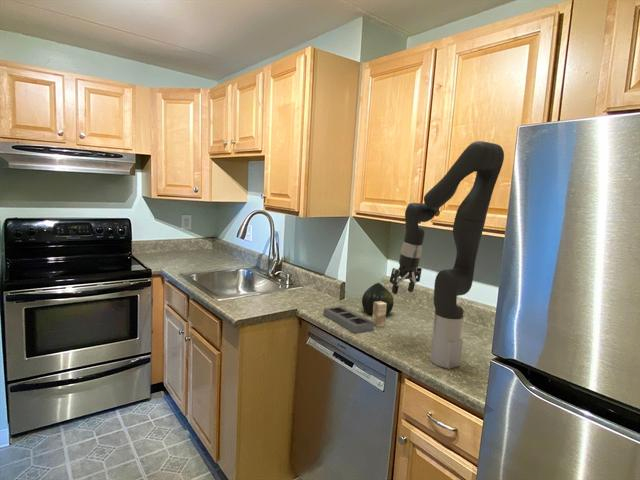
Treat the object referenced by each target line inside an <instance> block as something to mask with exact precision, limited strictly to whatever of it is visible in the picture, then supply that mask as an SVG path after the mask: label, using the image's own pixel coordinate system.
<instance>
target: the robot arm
mask: <svg viewBox="0 0 640 480" xmlns="http://www.w3.org/2000/svg"><path fill="white" fill-rule="evenodd" d="M504 159H505V153H504V149H503V147H502V146H501V145H500V144H497V143H493V142H488V141H482V140H480V141H478V140H477V141H473V142H471V143H470V144H469V145H468V146H467V147H466V148H465V149H464V150H463V151H462V153H461V154H460V155H459V157H458V158H457V159H456V160H455V162H454V163H453V165H452V166H451V167H450V168H449V170H448V171H447V172H446V173H445V175H444V176H443V177H442V178H441V179H440V180H439V181H438V182H437V183H436V184H435V185H434V186H433V187H432V188H431V189H429V191H427V193H426V194H425V195H424V196H423V202H412V203H411V202H410V204H408V206H406V209H405V211H404V220H405V221H404V223H405V233H404V238H403V243H402V246H401V249H400V255H399V260H398V264H399V267H398V268H394V267H393V268H392V270H391V274H390V278H389V283H391V284H392V289H391V294H394V295H398V291H399V286H400V284H401V283H402V282H404V281H405V280H409V282H408V288H407V291H408V292H409V293H413V292H414V290H415V289H414V288H415V287H416V286H415V285H416V283H420V280H421V277H422V268H421V267H420V265H419V264H420V259H421V255H422V251H423V250H422V249H423V244H424V239H425V230H424V229H423V228H420V227H419V223H427V222H429V221H431V220H432V219H433V218H435V216H436V214H437V213H438V212H439V210H440V208H441V207H443V206H444V205H445V204H446V203H447V202H448V201H450V200H451V199H452V198H453V196H454V195H455V194H456V192H457V190H458V188H459V185H460V183H461V182H462V181H463V180H464V179H465V178H466V177H468V176H469V175H471V174H472V173H474V172H476V174H475V178H474V182H473V185H472V188H471V189H470V191H469V192H468V193H467V195H466V196H465V198H464V199H463V200H462V202H461V203H460V204H459V206H458V208H457V210H456V213H455V217H454V222H453V226H452V236H453V240H454V245H455V248H456V255H455V256H456V257H455V260H454V261H455V262H454V265H453V267H452V268H449V269H448V268H447V269H442V270H440V271H438V272H437V274H436V276H435V279H434V289H433V290H434V291H433V305H434V319H433V327H432V336H431V347H430V355H429V360H430V362H431V363H432V364H434V366H435V365H436V366H438V367H441V368H444V369H447V370H450V369H454V368H457V367H460V366H461V359H462V352H463V343H464V339H463V338H461V336H462V327H463V321H464V312H465V311H464V309H463V307H461V306H460V305H458V304H457V298H458V296H460V297H461V296H464V295H467V293H469V291H470V290H471V288H472V286H473V281H474V276H475V275H474V274H475V267H476V259H477V255H478V250H479V246H480V242H481V237H482V234H483V231H484V228H485V224H486V220H487V215H488V210H489V206H490V203H491V199H492V197H493V196H492V195H493V193H494V190H495V185H496V184H497V181H498V178H499V175H500V172H501V170H502V167H503V165H504Z"/></svg>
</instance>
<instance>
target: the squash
mask: <svg viewBox="0 0 640 480" xmlns="http://www.w3.org/2000/svg"><path fill="white" fill-rule="evenodd" d="M377 301H382V302H384V303H387V307H386V315H388V314H390V313H391V311H392V309H393V307H394V304H395V301H394V296H393V294H392V292H390V291H389V290H388V288H387V287H385V286H384V285H382V283H380V282H376V283H374V284H373V285H371V286H370V287H368V288H367V289H366V290H365V291H364V293H363V295H362V299H361V305H362V309H363V310H364V311H365V312H366V313H368V314H373V305H374V302H377Z"/></svg>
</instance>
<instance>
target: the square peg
mask: <svg viewBox="0 0 640 480" xmlns="http://www.w3.org/2000/svg"><path fill="white" fill-rule="evenodd" d="M386 307H387V303H384V302H382V301H377V302H374V305H373V313H372V318H371V319H372V320H371V322H373V323H374V327H375V326H376V327H377V328H380V327H385V326H386V316H387V314H386Z"/></svg>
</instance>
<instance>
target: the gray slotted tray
mask: <svg viewBox="0 0 640 480" xmlns="http://www.w3.org/2000/svg"><path fill="white" fill-rule="evenodd" d="M322 315H323V316H324V317H326V318H328V319H330V320H331V321H333V322H335V323H336V324H338V325H340V326H341V327H343V328H344V329H346V330H348V331H350V332H351V333H354V334H359V333H363V332H369V331H374V329H375V325H374V323H373V322H372V320H369V319H368V318H365V317H363V316H362V315H360V314H357V313H356V312H353V311H352V310H350V309H348V308H345V307H344V306H334V307H326V308H323V314H322Z"/></svg>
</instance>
